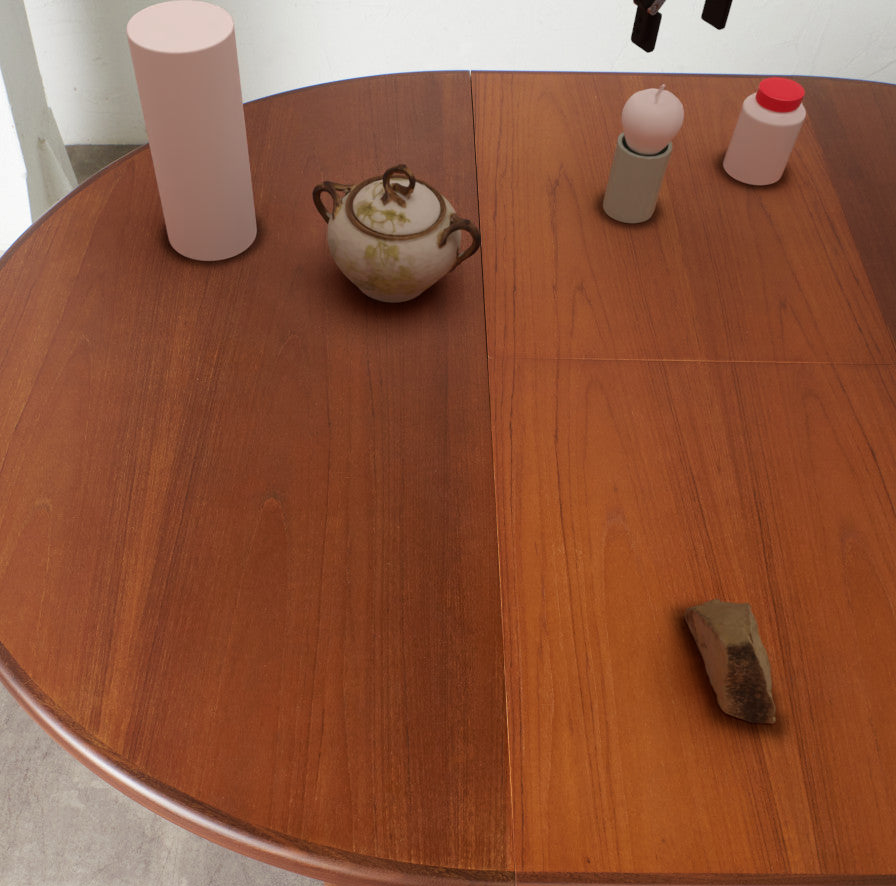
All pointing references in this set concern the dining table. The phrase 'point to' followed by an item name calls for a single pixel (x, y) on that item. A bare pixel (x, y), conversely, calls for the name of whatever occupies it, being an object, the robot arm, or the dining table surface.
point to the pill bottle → (766, 132)
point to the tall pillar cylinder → (195, 125)
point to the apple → (651, 120)
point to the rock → (734, 658)
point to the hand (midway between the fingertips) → (677, 35)
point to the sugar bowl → (394, 234)
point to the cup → (634, 183)
